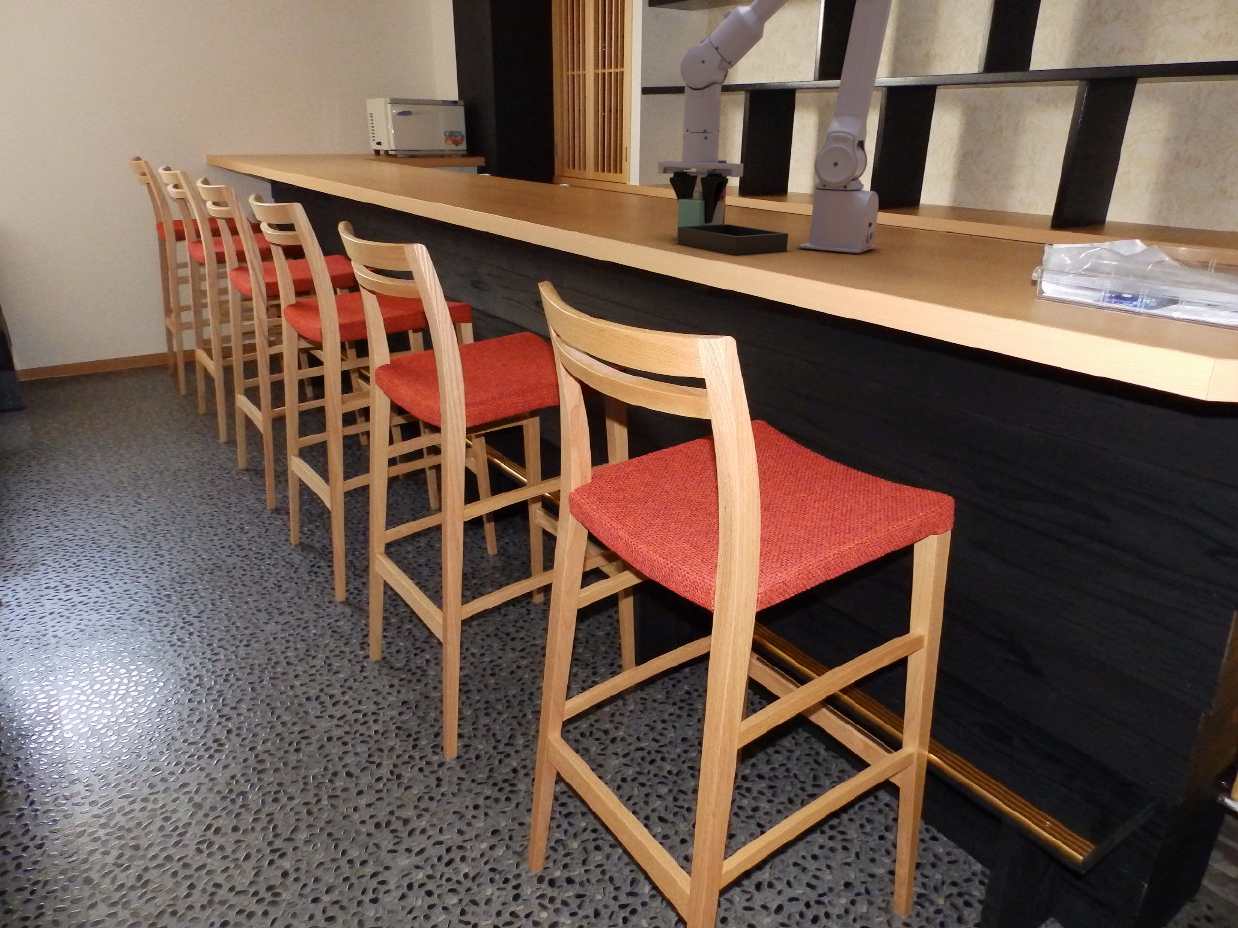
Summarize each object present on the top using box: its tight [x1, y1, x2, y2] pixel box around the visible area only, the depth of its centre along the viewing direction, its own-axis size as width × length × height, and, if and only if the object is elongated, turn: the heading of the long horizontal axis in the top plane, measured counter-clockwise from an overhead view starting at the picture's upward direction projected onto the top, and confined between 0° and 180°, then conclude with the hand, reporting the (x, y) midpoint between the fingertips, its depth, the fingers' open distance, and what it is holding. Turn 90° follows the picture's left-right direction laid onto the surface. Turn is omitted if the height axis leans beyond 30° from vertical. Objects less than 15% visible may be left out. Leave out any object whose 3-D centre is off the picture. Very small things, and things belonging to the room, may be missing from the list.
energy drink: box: [694, 159, 728, 225], centre depth 146 cm, size 5×5×12 cm
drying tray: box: [676, 223, 789, 256], centre depth 130 cm, size 14×10×3 cm
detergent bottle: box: [676, 190, 718, 240], centre depth 137 cm, size 4×6×7 cm, turn 146°
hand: (697, 222), depth 138 cm, fingers closed on detergent bottle, 3 cm apart
